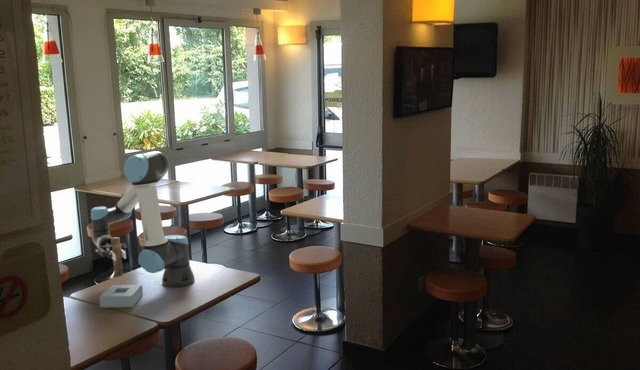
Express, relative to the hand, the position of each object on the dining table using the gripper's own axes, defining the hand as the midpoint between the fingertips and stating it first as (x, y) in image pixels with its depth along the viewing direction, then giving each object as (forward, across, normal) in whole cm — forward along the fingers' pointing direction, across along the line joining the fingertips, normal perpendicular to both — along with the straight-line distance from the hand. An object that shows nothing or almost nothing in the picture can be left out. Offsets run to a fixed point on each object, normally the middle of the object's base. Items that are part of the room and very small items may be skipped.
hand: (120, 256), depth 248 cm
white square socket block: (-5, 0, -22) cm, 22 cm away
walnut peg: (-5, 0, -10) cm, 11 cm away
